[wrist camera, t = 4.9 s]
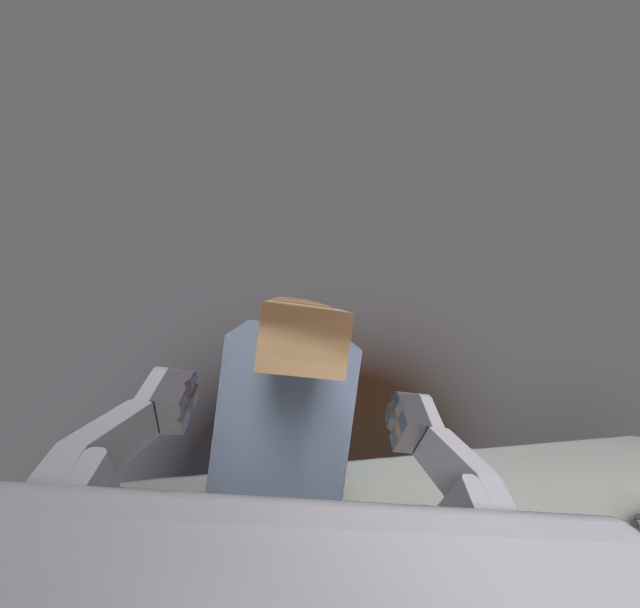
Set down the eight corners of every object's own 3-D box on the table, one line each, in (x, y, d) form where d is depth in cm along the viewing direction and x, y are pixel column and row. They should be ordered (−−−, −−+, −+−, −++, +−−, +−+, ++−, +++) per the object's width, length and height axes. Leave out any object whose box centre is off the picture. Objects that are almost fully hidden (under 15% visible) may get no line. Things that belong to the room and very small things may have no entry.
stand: (316, 685, 22) (362, 350, 21) (181, 688, 21) (225, 334, 20) (307, 548, 34) (336, 330, 33) (220, 545, 33) (248, 319, 32)
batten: (345, 381, 13) (354, 313, 13) (253, 372, 12) (262, 301, 12) (308, 323, 36) (311, 300, 36) (276, 320, 36) (280, 296, 36)
